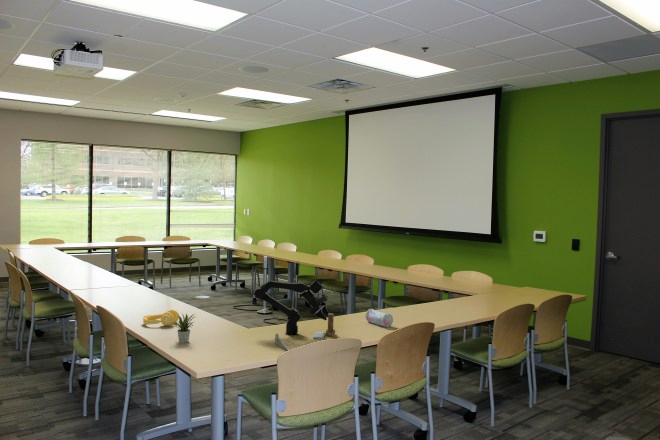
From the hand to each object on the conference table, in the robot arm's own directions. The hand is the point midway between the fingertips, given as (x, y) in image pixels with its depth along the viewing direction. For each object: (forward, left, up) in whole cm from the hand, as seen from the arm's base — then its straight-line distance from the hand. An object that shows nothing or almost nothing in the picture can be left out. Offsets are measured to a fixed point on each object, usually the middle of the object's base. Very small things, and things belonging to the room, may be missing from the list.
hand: (328, 318), depth 314 cm
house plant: (-78, -27, -10) cm, 83 cm away
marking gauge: (+2, 0, -10) cm, 10 cm away
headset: (-109, +10, -11) cm, 110 cm away
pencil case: (+31, +34, -11) cm, 47 cm away
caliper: (-22, -32, -11) cm, 41 cm away
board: (-5, -4, -10) cm, 12 cm away
